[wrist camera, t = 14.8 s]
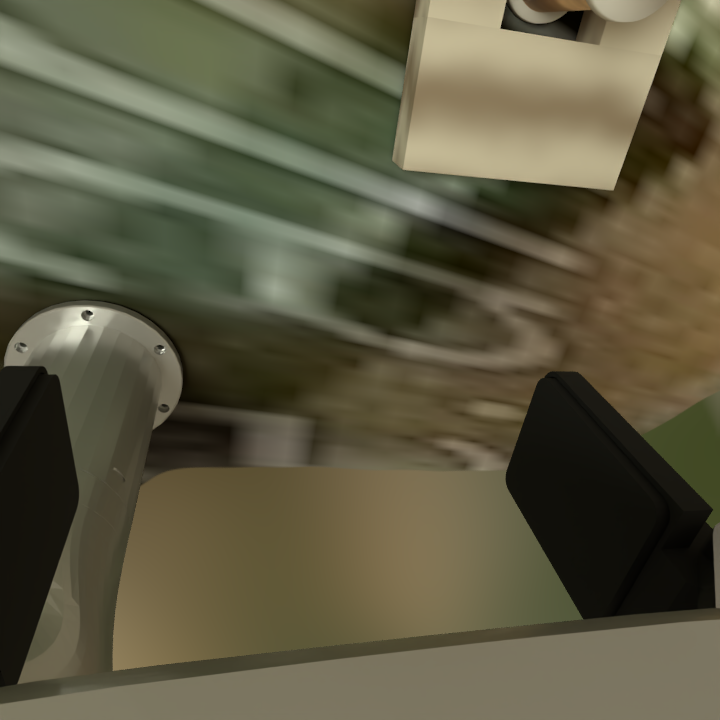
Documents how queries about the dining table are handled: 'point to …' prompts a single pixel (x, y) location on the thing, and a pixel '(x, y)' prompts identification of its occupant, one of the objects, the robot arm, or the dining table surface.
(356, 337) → the dining table surface
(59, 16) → the dining table surface
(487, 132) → the socket board
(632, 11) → the bobbin
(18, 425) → the robot arm
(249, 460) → the dining table surface
